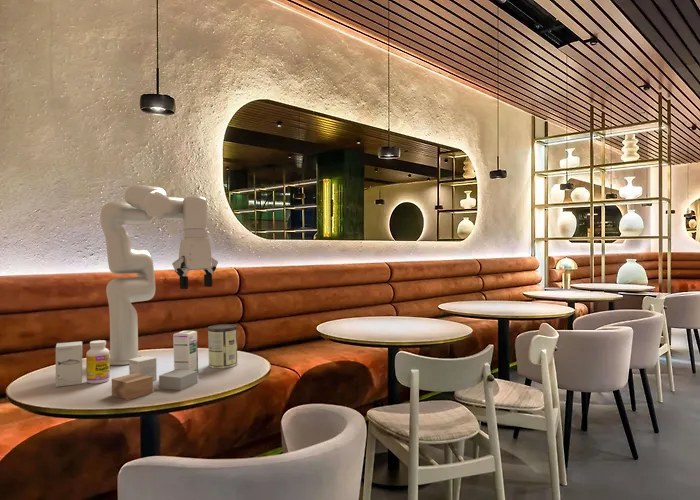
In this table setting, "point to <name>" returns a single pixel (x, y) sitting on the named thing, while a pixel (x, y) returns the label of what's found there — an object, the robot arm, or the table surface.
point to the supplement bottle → (97, 362)
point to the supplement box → (68, 363)
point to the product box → (143, 366)
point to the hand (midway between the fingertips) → (196, 287)
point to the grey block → (178, 379)
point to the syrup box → (185, 351)
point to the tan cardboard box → (132, 386)
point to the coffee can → (222, 345)
